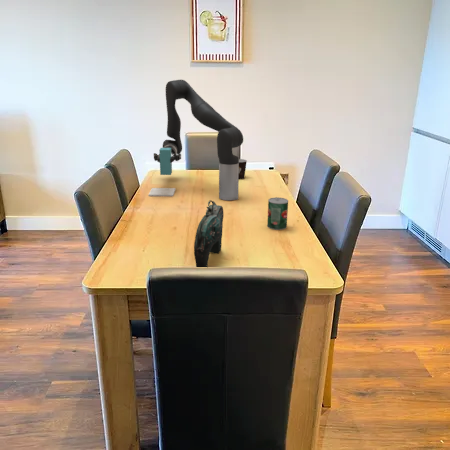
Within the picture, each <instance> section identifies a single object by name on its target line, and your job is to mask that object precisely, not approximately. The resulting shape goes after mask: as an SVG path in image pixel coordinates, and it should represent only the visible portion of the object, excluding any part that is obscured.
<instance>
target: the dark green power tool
mask: <svg viewBox="0 0 450 450" xmlns="http://www.w3.org/2000/svg"><path fill="white" fill-rule="evenodd" d="M206 208H207V209H206V210H205V214H204V216H202V218H201V220H200V222H199V223H198V225H197V228H196V232H195V235H194V236H195V238H194V244H193V250H194V251H193V254H194V260H195V268H196V267H207V268H209V265H208V264H209V259H210V254H220V252H221V251H222V239H223V228H224V227H223V224H224V223H223V222H224V213H225V212H224V208H223V206H222V205H219V204H217V203H216V202H215V200H211V199H210V200H208V201H207V206H206Z"/></svg>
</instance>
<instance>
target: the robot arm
mask: <svg viewBox="0 0 450 450" xmlns="http://www.w3.org/2000/svg"><path fill="white" fill-rule="evenodd" d="M181 99H183V100H185V101H187V102H188V104H189V105H190V111H191V115H192V116H193V117H194V119H196V120H197V121H198V122H199V123H200V124H201V125H203V126H205V127H207V128H209V129H212V130H214V131H216V132H218V133H217V136H216V148H217V150H216V151H217V157H218V166H219V167H218V180H219V181H218V198H219V200H223V201H236V200H239V181H240V179H238V172H239V159H240V158H239V156H237V155H235V154H234V153H233V149H235V148H239V147H240V146H242V145H243V142H244V136H243V133H242V131H241V130H240V129H239V128H238V127H237V126H236V125H234V124H233V123H231V122H229V120H227V119H225V118H224V117H223V116H222V115H221V114H220V113H219V112H218V111H217V110H216V109H215V108H214V107H213V106H211V105H210V104H209V103H208V102H207V101H206V100H204V99H203V98H202V97H201V95H199V94H198V93H197V92H196V91H195V89H194V88H193V87H192V85H190V83H188V82H187V81H186V80H185V79H176V80H175V79H174V80H170V81H168V82H166V85H165V101H166V113H167V122H166V123H167V124H166V125H167V126H166V135H167V137H168V138H170V139H164V141H163V143H162V148H171V158H170V163H172V164H173V162H179V161H180V160H181V159H182V151H183V144H182V140H181V127H182V125H181V124H182V122H181V118H180V115H179V114H178V112H177V109H176V101H177V100H181ZM153 159H154V161H155V162H156V161H157V162H158V163H159V164H160V153H159V154H158V153H153Z"/></svg>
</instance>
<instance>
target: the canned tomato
mask: <svg viewBox="0 0 450 450" xmlns="http://www.w3.org/2000/svg"><path fill="white" fill-rule="evenodd" d="M288 210H289V200H288V199H287V198H284V197H277V196H276V197H270V198H268V202H267V220H266V221H267V222H266V223H267V225H266V227H267V228H268V229H270V230H276V231H280V230H281V231H282V230H283V231H284V230H286V229H287V228H288V215H289V214H288V212H289V211H288Z"/></svg>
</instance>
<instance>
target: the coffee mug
mask: <svg viewBox="0 0 450 450" xmlns="http://www.w3.org/2000/svg"><path fill="white" fill-rule="evenodd" d="M247 162H248V161H247V160H246V159H244V158H243V159H242V158H239V172H238V180H243V179H245V176H246V170H247V168H246V167H247Z"/></svg>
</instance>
